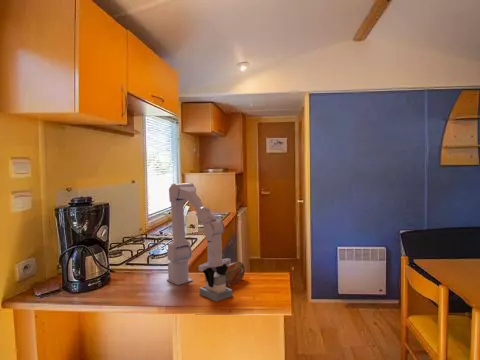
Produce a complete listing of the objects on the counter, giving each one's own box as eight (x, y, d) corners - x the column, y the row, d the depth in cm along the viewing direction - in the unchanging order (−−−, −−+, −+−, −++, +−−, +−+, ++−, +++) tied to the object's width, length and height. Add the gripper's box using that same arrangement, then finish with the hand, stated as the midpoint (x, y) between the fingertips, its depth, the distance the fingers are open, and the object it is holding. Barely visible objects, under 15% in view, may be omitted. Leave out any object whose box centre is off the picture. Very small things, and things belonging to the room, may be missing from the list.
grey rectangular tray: (199, 294, 139) (199, 287, 139) (215, 288, 145) (215, 283, 145) (216, 301, 131) (216, 295, 131) (232, 295, 136) (232, 289, 136)
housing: (217, 293, 134) (217, 278, 133) (205, 288, 140) (205, 273, 139) (225, 291, 136) (225, 275, 136) (213, 286, 142) (213, 271, 142)
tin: (223, 288, 145) (223, 268, 145) (218, 287, 147) (217, 267, 147) (245, 278, 157) (244, 260, 157) (239, 277, 159) (239, 259, 159)
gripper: (205, 256, 129) (206, 292, 130) (235, 249, 139) (236, 283, 140) (194, 253, 135) (195, 287, 135) (224, 246, 144) (224, 279, 145)
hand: (215, 285), depth 138 cm, fingers closed on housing, 4 cm apart
